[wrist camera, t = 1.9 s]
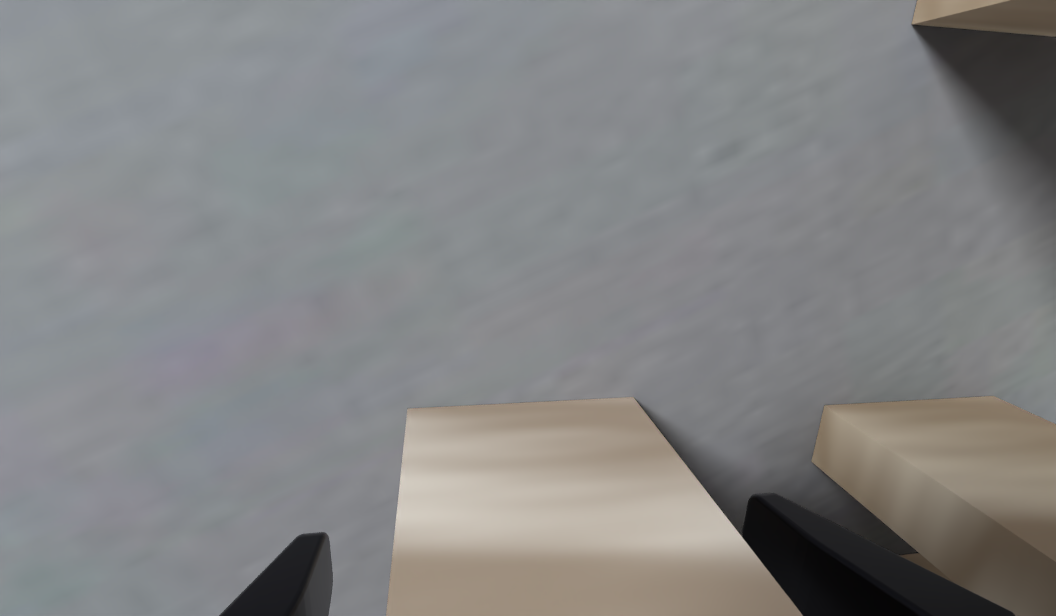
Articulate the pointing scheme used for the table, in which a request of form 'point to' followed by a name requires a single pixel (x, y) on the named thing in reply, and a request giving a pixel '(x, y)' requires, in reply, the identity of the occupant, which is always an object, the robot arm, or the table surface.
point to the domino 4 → (989, 15)
